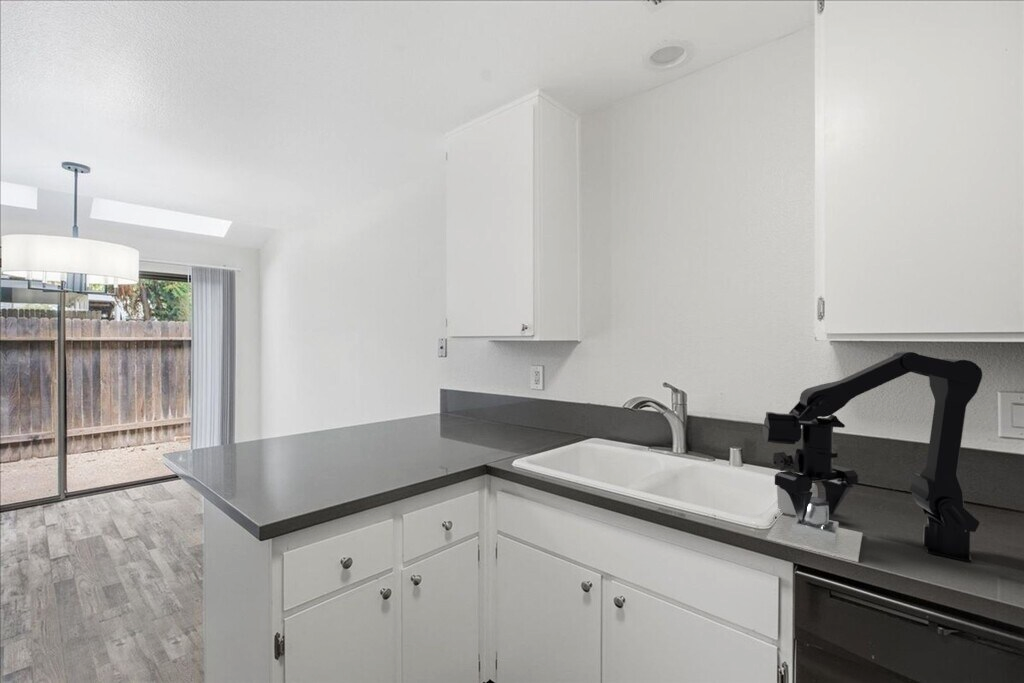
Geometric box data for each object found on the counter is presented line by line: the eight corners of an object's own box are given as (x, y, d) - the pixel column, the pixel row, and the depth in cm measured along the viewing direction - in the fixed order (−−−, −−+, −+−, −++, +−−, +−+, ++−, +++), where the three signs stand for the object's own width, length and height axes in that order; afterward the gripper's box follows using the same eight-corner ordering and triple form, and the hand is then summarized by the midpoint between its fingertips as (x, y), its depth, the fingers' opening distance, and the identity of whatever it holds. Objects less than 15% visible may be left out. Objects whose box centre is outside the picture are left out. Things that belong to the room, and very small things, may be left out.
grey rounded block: (823, 506, 121) (822, 470, 119) (815, 527, 114) (814, 489, 112) (787, 498, 127) (786, 464, 125) (778, 518, 119) (776, 482, 117)
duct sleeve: (813, 528, 106) (813, 494, 106) (833, 537, 102) (833, 501, 102) (798, 532, 105) (798, 497, 104) (818, 540, 100) (819, 504, 100)
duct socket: (862, 535, 105) (862, 521, 105) (858, 562, 92) (858, 545, 92) (780, 517, 115) (780, 504, 115) (766, 539, 102) (767, 524, 102)
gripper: (812, 435, 114) (810, 499, 114) (754, 441, 107) (753, 509, 108) (860, 445, 104) (858, 516, 104) (799, 452, 97) (798, 528, 97)
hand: (815, 516), depth 103 cm, fingers open, 9 cm apart
